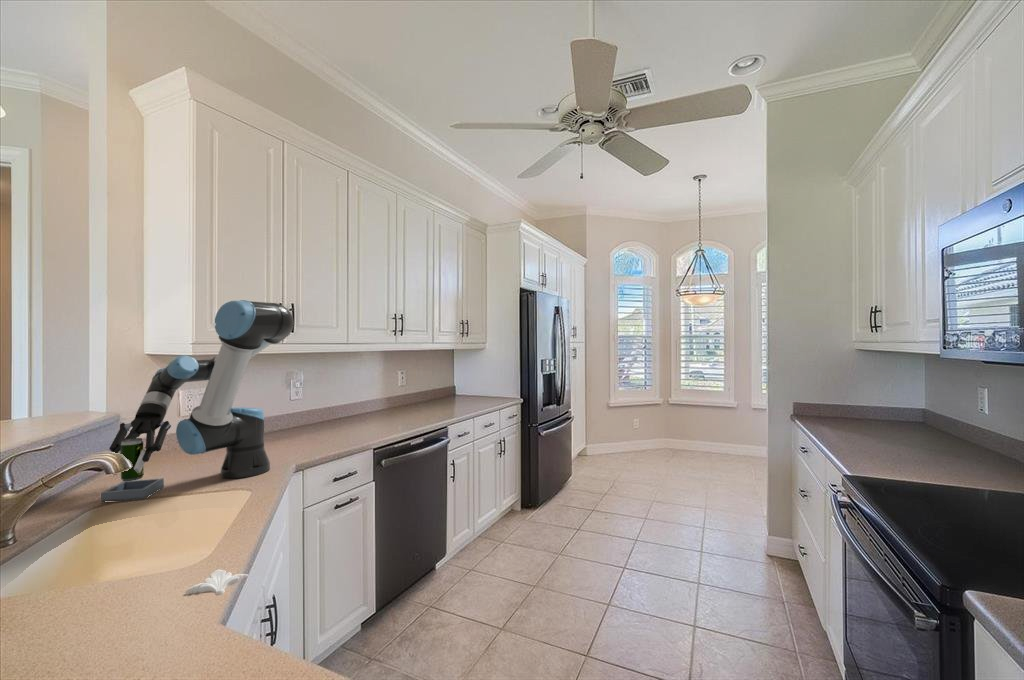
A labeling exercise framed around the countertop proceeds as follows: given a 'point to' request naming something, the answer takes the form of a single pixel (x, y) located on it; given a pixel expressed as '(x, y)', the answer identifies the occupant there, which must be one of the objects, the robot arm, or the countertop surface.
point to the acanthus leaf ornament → (216, 582)
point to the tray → (132, 490)
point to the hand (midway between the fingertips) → (125, 471)
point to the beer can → (132, 457)
